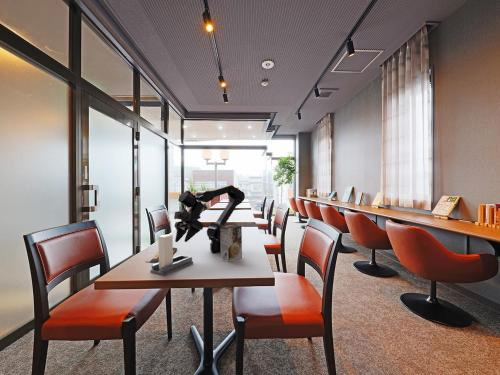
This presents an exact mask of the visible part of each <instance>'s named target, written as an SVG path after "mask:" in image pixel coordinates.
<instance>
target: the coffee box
mask: <svg viewBox="0 0 500 375" xmlns="http://www.w3.org/2000/svg"><path fill="white" fill-rule="evenodd" d="M242 236H243V232H242V225H239V224H228V225H224V226H222V227H220V237H221V253H220V259H221V260H223V261H226V262H228V263H229V262H232V261H235V260H238V259H241V258H243V237H242Z"/></svg>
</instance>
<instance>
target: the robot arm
mask: <svg viewBox="0 0 500 375" xmlns="http://www.w3.org/2000/svg"><path fill="white" fill-rule="evenodd" d="M226 194H227V195H228V197H229V198H228V201H229V202H228V203H227V205H226V206H225V207H224V209H223V211H222V212H221V214H220V215H219V217H218V218H217V220H216V221H215V222H212V221H211V222H210V224H209V226H208V227H207V229H206V235H207V237H208V240H209V241H210V243H209V244H210V245H209V247H210V248H209V249H210V250H209V251H210V252H211V253H212V254H219V253H220V254H221V237H220V227H222V226H226V224H227V222H228V220H229V219H230V217H231V216H232V214H233V212H234V211H235V209H236V208H237V206H238V205H241V204H242V203H243V202H244V200H245V198H246V195H245V194H246V193H244V191H243V190H240V189H238V188H237V187H235V186H234V185H232V184H226V185H224V186H220V187H217V188H214V189H207V190H199V191H197V192H196V193H195V194H193V193H192V192H191V191H190V190H185V191H184V192H183V193H181V195H179V197H178V202H180V204H182V205H184V206H185V207H186V208H188V209H189V208H190V209H189V210H188V209H182V210H181V211H175V212H174V217H173V219H174V220H180V221H175V223H174V225H173V226H174V228H175V230H176V235H175V239H174V242H175V243H178V242H179V241H180V240H181V239H182V238H183V237H184V235H185V237H184V240H183V241H184V242H185V243H187V242H188V241H189V240H191V239H192V238H193V237H195V235H196V234H198V233H199V232H200V231H203V229H204V223H203V222H201V221H200V219H201V217H202V216H201V214H202V212H203V210H208V207H207V204H206V203H209V202H211V201H213V200H214V199H215V198H216V197H217V198H218V197H219V196H221V195H222V196H223V195H226Z"/></svg>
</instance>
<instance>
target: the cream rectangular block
mask: <svg viewBox="0 0 500 375" xmlns="http://www.w3.org/2000/svg"><path fill="white" fill-rule="evenodd" d="M173 238H174V237H173V234H163V235H158V237H157V240H158V241H157V242H158V252H159V262H158V263H159V269H161V267H164V266H167V265H169V264H172V263H173V257H174V253H173V248H174V247H173V243H174V242H173Z"/></svg>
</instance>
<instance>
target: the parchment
mask: <svg viewBox="0 0 500 375" xmlns="http://www.w3.org/2000/svg"><path fill="white" fill-rule="evenodd" d="M177 249H178V248H177V247H173V254H175V252H176V251H177ZM145 262H146V263H148V261H145ZM149 263H159V251H158V252H156V253H154V256H153V258H151V259H150V261H149Z"/></svg>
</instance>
